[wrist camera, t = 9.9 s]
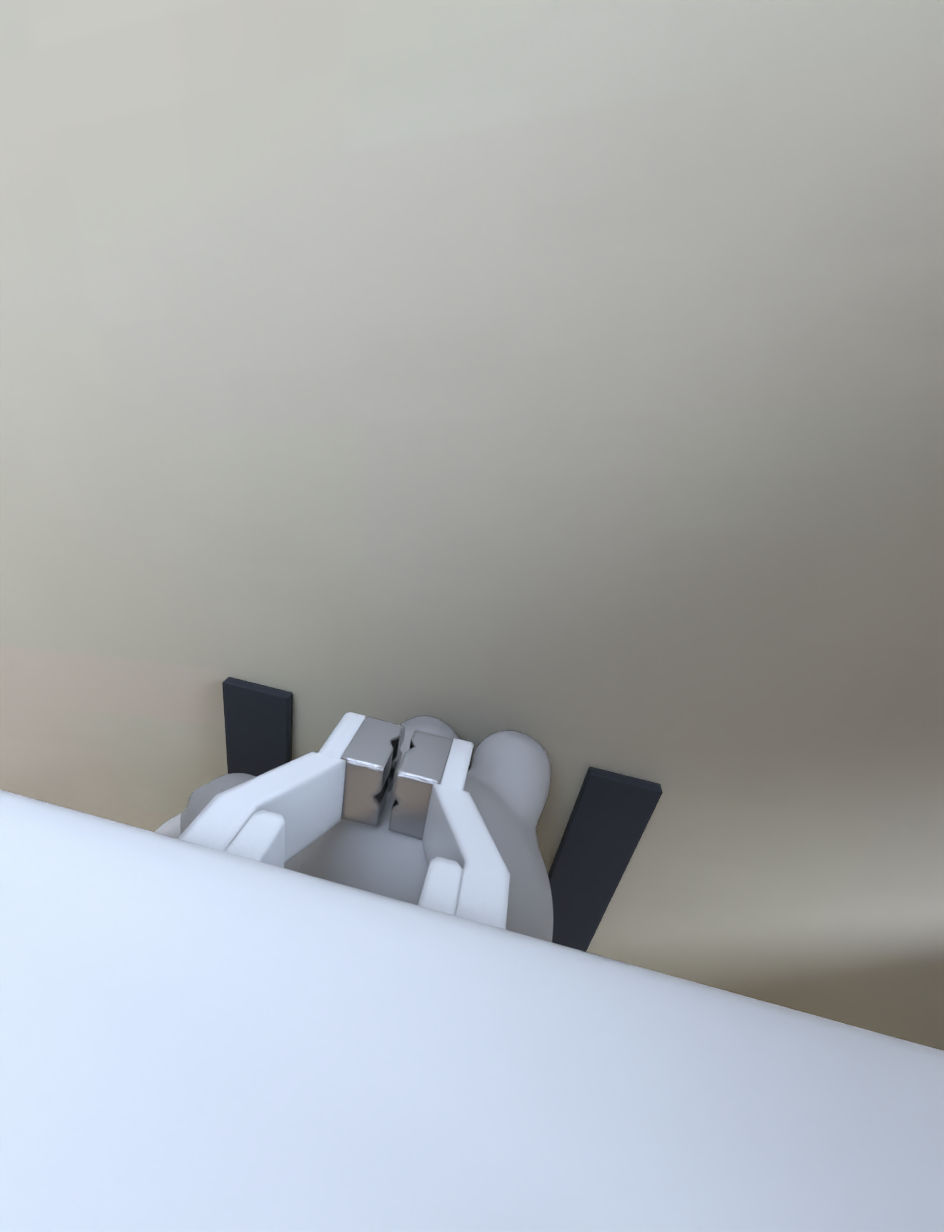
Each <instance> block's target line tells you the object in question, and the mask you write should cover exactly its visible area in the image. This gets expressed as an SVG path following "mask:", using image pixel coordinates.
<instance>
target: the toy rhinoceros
mask: <svg viewBox="0 0 944 1232" xmlns="http://www.w3.org/2000/svg"><path fill="white" fill-rule="evenodd" d="M401 725H402V726H405V737H404V741H403V743H402V745H401V748H400V750H401V752H402V757H401V761H402V758H403V756H404V754H405V752H406V751H407V750H409V747H410V741H411V737H412V735H413V733H414V731H415V730H416V729H417V730H421V731H425V732H429V733H433V734H437V735H442V736H446V737H450V738H456V739H459V738H458V736H457V735H456V733H455V732H454V731H453V730H452V729H451V728H450V727H449V726H448V725H447V724H445V723H444V722H442V721H441V720H439V719H437V718H434V717H430V716H418V717H414V718H411V719H409V720H407V721H405V722H403V723H402V724H401ZM453 740H454V739H453ZM400 763H401V762H400ZM255 777H256V776H253V775H250V774H245V773H232V774H227V775H223V776H220V777H218V778H216V779H215V780H213V781H211V782H210V783H208V784H206V785H203V786H201V787H199V788H198V789H196V790H195V791H194V792H193V793H192V794H191V795H190V797H189V799H188V805H187V807H186V809H185V810H184V811H183V812H182V813H181V814H179V815H177V816H175V817H173V818H172V819H170V820H168V821H167V822H165V823H164V824H163V825H162V826H160V827H159V828H158V829H157V830H156V831H155V833H159V834H163V835H166V836H170V837H173V838H178V837H179V836H180V835H181V834H182V833H183V832H184V831H185V829H186V828H187V827H188V826H189V825H190V824H191V823H192V822H193V820H194V819H195V818H196V817H197V816H198V815H199V814H200V813H201V811H202V810H203V809H204V808H205V807H206V806H207V805H208V804H209V802H210V801H211V800H212V799H213V798H214V797H215V796H216V795H217V794H219V793H221V792H224V791H226V790H228V789H230V788H232V787H235V786H237V785H239V784H241V783H244V782H246V781H248V780H250V779H252V778H255ZM550 781H551V770H550V762H549V758H548V756H547V754H546V752H545V750H544V749H543V747H542V746H541V745H540V744H539V743H538V742H537V741H535V740H534V739H533V738H531V737H529V736H527V735H525V734H523V733H520V732H516V731H501V732H497V733H494V734H492V735H490V736H489V737H487V738H486V739H485V740H483V741H482V742H481V743H480V745H479V746H478V747H477V749H476V750H475V752H474V755H473V758H472V763H471V768H470V770H469V771H468V772H467V776H466V781H465V785H464V790H463V791H467V792H469V793H470V795H471V797H472V799H473V801H474V803H475V805H476V807H477V809H478V811H479V813H480V815H481V817H482V819H483V821H484V823H485V825H486V827H487V829H488V831H489V833H490V835H491V837H492V839H493V841H494V843H495V845H496V847H497V849H498V851H499V853H500V855H501V857H502V859H503V861H504V863H505V865H506V867H507V869H508V871H509V873H510V882H509V894H508V907H507V919H506V930H509V931H512V932H516V933H519V934H523V935H527V936H530V937H534V938H537V939H541V940H545V941H548V942H552V936H553V903H552V894H551V888H550V882H549V877H548V874H547V870H546V867H545V864H544V861H543V858H542V855H541V852H540V850H539V847H538V844H537V834H536V831H535V830H536V825H537V822H538V820H539V818H540V815H541V813H542V810H543V808H544V805H545V803H546V800H547V796H548V793H549V787H550ZM394 786H395V783H394V785H393V788H392V790H391V791H390V792H388V793H387V798H386V805H385V807H384V809H383V812H382V814H381V816H380V819H379V821H378V823H377V826H376V827H375V826H370V825H366V824H362V823H358V822H353V821H349V820H345V819H341V821H340V822H339V823H337V824H336V825H335V826H333V827H332V828H331V829H329V830H328V831H327V832H325V833H324V834H322V835H321V836H320V837H318V838H317V839H316V840H314V841H313V842H312V843H310V844H309V845H308V846H306V847H305V848H304V849H302V850H301V851H300V852H298V853H297V854H295V855H294V856H293V857H291V858H290V859H289V860H287V861H286V862H285V863H284V868H285V869H289V870H292V871H296V872H300V873H303V874H307V875H310V876H314V877H318V878H321V879H325V880H328V881H332V882H336V883H339V884H343V885H346V886H350V887H354V888H357V889H361V890H365V891H368V892H372V893H375V894H379V895H383V896H386V897H390V898H393V899H397V900H401V901H404V902H408V903H411V904H415V905H418V903H419V899H420V896H421V892H422V889H423V885H424V882H425V878H426V875H427V871H428V868H429V867H428V863H427V859H426V856H425V852H424V848H423V845H422V840H420V839H416V838H413V837H410V836H406V835H403V834H400V833H396V832H393V831H389V830H388V828H389V821H390V813H391V808H392V806H393V803H394V801H395V797H394V795H393V793H394Z"/></svg>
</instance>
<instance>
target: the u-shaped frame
mask: <svg viewBox="0 0 944 1232" xmlns="http://www.w3.org/2000/svg"><path fill="white" fill-rule="evenodd" d="M222 684H223V700H224V716H225V732H226V749H227V765H228V774H232V773H245V774H250V775H253V776H256V777H257V776H259V775H261V774H263V773H266V772H268V771H270V770H272V769H275V768H277V767H279V766H281V765H283V764H286V763H288V762H290V761H291V726H292V693H291V692H287V691H283V690H279V689H275V688H271V687H267V686H263V685H259V684H255V683H251V682H247V681H243V680H239V679H235V678H231V677H228V678H227V679H226V680H225V681H223V683H222ZM661 794H662V789H661V786H660V784H657V783H653V782H649V781H645V780H641V779H637V778H633V777H629V776H625V775H621V774H617V773H613V772H609V771H605V770H601V769H597V768H593V767H589V769H588V772H587V774H586V777H585V780H584V782H583V785H582V788H581V790H580V793H579V796H578V798H577V801H576V804H575V806H574V809H573V812H572V814H571V817H570V819H569V822H568V825H567V827H566V830H565V833H564V835H563V838H562V841H561V843H560V846H559V849H558V851H557V854H556V857H555V859H554V862H553V865H552V867H551V870H550V872H549V875H548V877H549V882H550V888H551V894H552V903H553V936H552V943H555V944H559V945H563V946H566V947H570V948H573V949H577V950H581V951H584V952H586V950H587V948H588V946H589V944H590V942H591V940H592V938H593V936H594V934H595V932H596V929H597V927H598V925H599V923H600V921H601V919H602V917H603V915H604V913H605V911H606V909H607V907H608V904H609V902H610V900H611V898H612V896H613V894H614V892H615V890H616V888H617V886H618V884H619V882H620V880H621V877H622V875H623V873H624V871H625V869H626V867H627V865H628V863H629V861H630V859H631V857H632V855H633V853H634V850H635V848H636V846H637V844H638V842H639V840H640V838H641V836H642V834H643V832H644V830H645V828H646V826H647V823H648V821H649V819H650V817H651V815H652V813H653V811H654V809H655V807H656V805H657V803H658V801H659V799H660V796H661Z"/></svg>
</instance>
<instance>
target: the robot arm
mask: <svg viewBox="0 0 944 1232" xmlns="http://www.w3.org/2000/svg"><path fill="white" fill-rule="evenodd" d="M404 737H405V726H402V725H398V724H394V723H391V722H387V721H384V720H380V719H376V718H373V717H369V716H368V717H367V716H364V715H361V714H357V713H353V712H350V711H349V712H347V713H346V714H344V716H343V717H342V719H341V720H340V721H339V723H338V724H337V726H336V727H335V729H334V730H333V732H332V733H331V734H330V736H329V737H328V739H327V740H326V742H325V743H324V745H323V746H322V748H321V749H320V750H319V752H318V753H316V752H310V753H308V754H306V755H303V756H301V757H299V758H297V759H294V760H292V761H290V762H288V763H286V764H283V765H281V766H279V767H277V768H275V769H272V770H270V771H268V772H266V773H263V774H261V775H259V776H257V777H255V778H252V779H250V780H248V781H246V782H244V783H241V784H239V785H237V786H235V787H232V788H230V789H228V790H226V791H224V792H221V793H219V794H217V795H216V796H215V797H214V798H213V799H212V800H211V801H210V802H209V804H208V805H207V806H206V807H205V808H204V809H203V810H202V811H201V813H200V814H199V815H198V816H197V817H196V818H195V819H194V820H193V822H192V823H191V824H190V825H189V826H188V827H187V828H186V829H185V831H184V832H183V833H182V834H181V835H180V836H179V837H178V838H173V837H170V836H166V835H163V834H159V833H155V832H152V831H148V830H145V829H141V828H137V827H134V826H130V825H126V824H123V823H119V822H116V821H112V820H108V819H105V818H101V817H98V816H94V815H90V814H87V813H83V812H80V811H76V810H72V809H69V808H65V807H62V806H58V805H54V804H51V803H47V802H43V801H40V800H36V799H33V798H29V797H25V796H22V795H18V794H15V793H11V792H7V791H4V790H0V1232H944V1051H943V1050H939V1049H935V1048H931V1047H928V1046H924V1045H920V1044H916V1043H913V1042H909V1041H906V1040H902V1039H898V1038H895V1037H891V1036H888V1035H884V1034H880V1033H877V1032H873V1031H869V1030H866V1029H862V1028H859V1027H855V1026H851V1025H848V1024H844V1023H840V1022H837V1021H833V1020H830V1019H826V1018H822V1017H819V1016H815V1015H812V1014H808V1013H804V1012H801V1011H797V1010H793V1009H790V1008H786V1007H783V1006H779V1005H775V1004H772V1003H768V1002H765V1001H761V1000H757V999H754V998H750V997H747V996H743V995H739V994H736V993H732V992H729V991H725V990H721V989H718V988H714V987H711V986H707V985H703V984H700V983H696V982H692V981H689V980H685V979H682V978H678V977H674V976H671V975H667V974H664V973H660V972H656V971H653V970H649V969H646V968H642V967H638V966H635V965H631V964H628V963H624V962H620V961H617V960H613V959H610V958H606V957H602V956H599V955H595V954H591V953H588V952H584V951H581V950H577V949H573V948H570V947H566V946H563V945H559V944H555V943H552V942H548V941H545V940H541V939H537V938H534V937H530V936H527V935H523V934H519V933H516V932H512V931H509V930H506V919H507V907H508V894H509V882H510V873H509V871H508V869H507V867H506V865H505V863H504V861H503V859H502V857H501V855H500V853H499V851H498V849H497V847H496V845H495V843H494V841H493V839H492V837H491V835H490V833H489V831H488V829H487V827H486V825H485V823H484V821H483V819H482V817H481V815H480V813H479V811H478V809H477V807H476V805H475V803H474V801H473V799H472V797H471V795H470V793H469V792H467V791H463V790H464V785H465V781H466V776H467V772H468V767H469V763H470V759H471V754H472V750H473V742H469V741H465V740H460V739H456V738H450V737H446V736H442V735H437V734H433V733H429V732H425V731H421V730H417V729H416V730H415V731H414V733H413V735H412V737H411V741H410V747H409V750H407V751H406V752H405V754H404V756H403V758H402V761H401V757H402V752H401V750H400V748H401V745H402V743H403V741H404ZM453 739H454V740H453ZM400 762H401V763H400ZM394 783H395V786H394V793H393V795H394V797H395V801H394V803H393V806H392V808H391V813H390V821H389V828H388V830H389V831H393V832H396V833H400V834H403V835H406V836H410V837H413V838H416V839H420V840H422V845H423V848H424V852H425V856H426V859H427V863H428V867H429V868H428V871H427V875H426V878H425V882H424V885H423V889H422V892H421V896H420V899H419V903H418V905H415V904H411V903H408V902H404V901H401V900H397V899H393V898H390V897H386V896H383V895H379V894H375V893H372V892H368V891H365V890H361V889H357V888H354V887H350V886H346V885H343V884H339V883H336V882H332V881H328V880H325V879H321V878H318V877H314V876H310V875H307V874H303V873H300V872H296V871H292V870H289V869H285V868H284V863H285V862H286V861H287V860H289V859H290V858H291V857H293V856H294V855H295V854H297V853H298V852H300V851H301V850H302V849H304V848H305V847H306V846H308V845H309V844H310V843H312V842H313V841H314V840H316V839H317V838H318V837H320V836H321V835H322V834H324V833H325V832H327V831H328V830H329V829H331V828H332V827H333V826H335V825H336V824H337V823H339V822H340V821H341V819H345V820H349V821H353V822H358V823H362V824H366V825H370V826H375V827H376V826H377V823H378V821H379V819H380V816H381V814H382V812H383V809H384V807H385V805H386V798H387V793H388V792H390V791H391V790H392V788H393V785H394Z"/></svg>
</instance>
